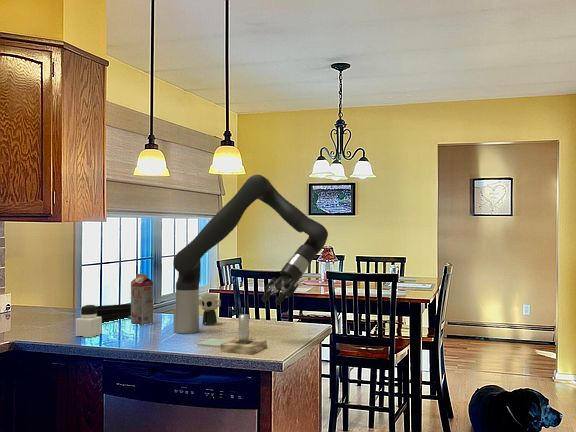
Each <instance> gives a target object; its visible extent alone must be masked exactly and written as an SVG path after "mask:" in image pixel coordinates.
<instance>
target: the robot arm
mask: <svg viewBox="0 0 576 432" xmlns="http://www.w3.org/2000/svg"><path fill="white" fill-rule="evenodd" d="M256 200H259V201H261V202H263V203H265V204H266V205H268V206H269V207H270V208H271V209H273V210H274V211H275V212H276V213H277V214H278V215H279V216H280V217H281V218H282V219H283V220H284V221H285V222H286V223H287V225H289V226H290V227H291V228H292V229H294V230H295V231H296V232H298V233H305V234H306V235H307V236H308V237H307V239H306V240H305V242H304V243H303V244H301V245H300V246H298V247H297V249H296V251H295V252H294V253H293V254H292V256H290V257H289V259H288V260H287V262H286V263H285V264H284V265H283V267H282V268H281V269H280V272H279V277H278V278H276V277H272V278H271V279H270V280H269V282H268V283H267V284H266V285H265V287H264V291H265V292H264V293H263V295H262V296H261V301H262V302H263V303H267V302H268V301H269V299H270V298H271V296H272V295H273V294H275V293H278V292H281V293H280V294H279V295H278V296H277V298H276V299H275V301H274V303H275V304H276V305H277V306H280V305H281V304H282V303H283V301H285V299H287V298H288V297H290V298H291V297H293V294H294V293H295V292H296V290H297V288H298V287H299V286H300V284H299V283H298V282H299V281H300V279H301V278H302V277H303V275H304V274H305V272H307V270H308V267H309V265H310V264H311V263H312V261H314V259H315V257H316V256H317V255H318V254H319V253H320V252H321V250H322V249H323V248H324V247H325V245H326V243H327V241H328V236H329V232H328V230H327V229H326V227H325V226H324V225H323V224H321V223H320V222H318V221H316V220H314V219H312V218H310V217H309V216H307V215H306V214H305V213H304V212H303V211H301V210H300V209H299V208H298V207H297V206H295V205H294V204H292V203H291V202H290V201H289V200H287V199H286V198H285V197H283V196H282V194H281V193H279V191H278V190H277V189H276V188H275V186H273V183H272V182H271V181H270V180H269V179H268V178H267V177H265V176H263V175H261V174H253V175H251V176H250V177H249V178H247V180H246V181H245V182H244V183H243V184H242V186H241V188H239V189H238V191H237V192H236V193H235V195H234V196H233V197H231V199H230V200H229V201H228V202H227V203H226V204H224V205H223V207H221V208H220V210H218V212H217V213H216V214H215V215H214V216H213V217H212V218H211V219H210V220H209V221H208V222H207V223H206V225H205V226H204V227H203V228H202V229H200V231H199V233H198V234H197V235H196V236H195V237H194V238H193V240H191V241H190V242H189V243H188V244H187V245H186V246H185V247H183V248H182V249H181V250H179V251H178V252H176V255H174V259H173V262H172V263H173V267H174V270H176V271H177V272H178V274H177V275H178V277H177V281H176V283H175V307H174V308H173V332H174V333H177V334H195V333H198V332H200V305H199V298H200V282H201V268H202V267H201V259H202V258H203V256H205V254H206V253H207V252H208V251H209V250H211V249H212V248H214V247H215V246H217V245H218V244H219V243H220V242H222V241H223V240H224V239H225V238H226V237H228V236H229V235H230V233H231V232H233V231H234V229H235V228H236V227H237V225H238V224H239V222H240V221H241V219H242V217H243V215H244V213H245V212H246V210H247V209H248V208H249V207H250V205H252V204H253V203H254V202H255V201H256Z"/></svg>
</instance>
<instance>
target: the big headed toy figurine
mask: <svg viewBox="0 0 576 432" xmlns="http://www.w3.org/2000/svg"><path fill="white" fill-rule="evenodd" d="M218 296H219V295H218V293H217V294H216V293H203V294H201V297H199V307H201V309H202V310H203V314H202V325H205V324H206V325H214V324H216V323H218V321H217V320H218V319H217V312H216V310H217V309H218V308H220V307H221V303H222V301H221V299H219V297H218Z"/></svg>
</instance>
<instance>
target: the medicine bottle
mask: <svg viewBox="0 0 576 432" xmlns="http://www.w3.org/2000/svg"><path fill="white" fill-rule="evenodd" d="M97 306H98V305H94V304H84V305H82V306H81V307H80V317H78V318H75V337H76V336H84V337H92V338H94V337H93V336H95V337H97V336H96V335H99V336H101V335H100V334H103V332H102V331H103V326H102V325H103V324H102V321H103V319H102V317H96V315H97ZM84 337H83V338H84Z"/></svg>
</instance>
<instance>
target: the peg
mask: <svg viewBox="0 0 576 432" xmlns="http://www.w3.org/2000/svg"><path fill="white" fill-rule="evenodd" d="M238 338H239V344H249V339H250V314H247V313H245V314H243V313H241V314H238Z"/></svg>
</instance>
